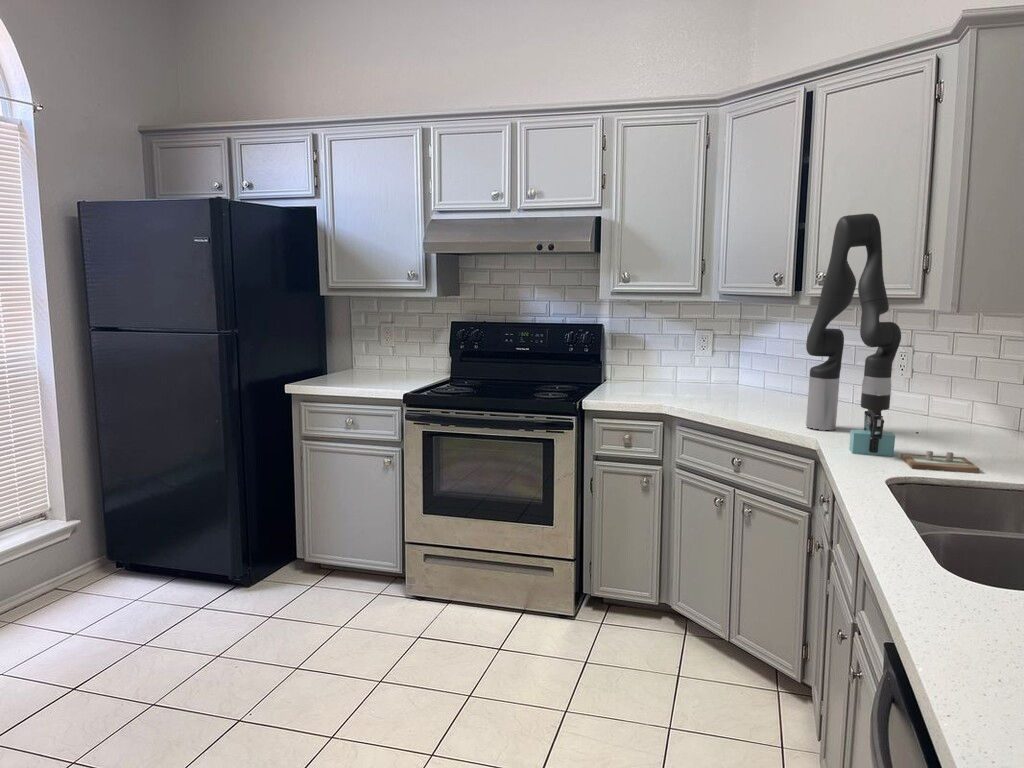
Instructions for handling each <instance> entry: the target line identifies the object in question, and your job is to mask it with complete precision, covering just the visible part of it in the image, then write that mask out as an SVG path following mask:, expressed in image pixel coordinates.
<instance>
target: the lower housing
mask: <svg viewBox="0 0 1024 768" xmlns="http://www.w3.org/2000/svg"><path fill="white" fill-rule="evenodd" d="M849 435H850V438H849V447H848V448H849V449H848V450H849V451H850V452H851V454H853V455H854V454H855V455H867V456H868V455H872V456H884V457H885V456H886V457H888V456H889V457H894V455H895V454H894V453H895V442H896V434H894V433H893V432H892V431H884V430H883V432H882V438H881V439H880V440H879V444H878V452H877V453H872V452H870V451H869V445H870V432H869V431H866V430H864V429H863V430H862V429H850V434H849ZM875 435H877V432H875Z"/></svg>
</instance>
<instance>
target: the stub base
mask: <svg viewBox="0 0 1024 768" xmlns="http://www.w3.org/2000/svg"><path fill="white" fill-rule="evenodd" d="M900 459H902V461H904V463H906V464H907V465H908V466H909V467H910V468H911V469H912V470H913V469H914V470H926V469H929V470H928V471H940V470H944V471H943V472H955V471H959V472H958V473H970V472H974V473H976V474H980V467H978V466H977V465H975V464H974V463H972V462H971V460H969V459H968V458H966V457H964V456H963V457H962V456H961V457H959V456H954V452H951V451H947V452H946V456H945V455H944V456H943V455H934V451H932V450H926V452H925V454H913V453H901V454H900Z"/></svg>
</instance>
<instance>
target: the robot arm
mask: <svg viewBox="0 0 1024 768" xmlns="http://www.w3.org/2000/svg"><path fill="white" fill-rule="evenodd" d="M881 229H882V228H881V225H880V221H879V219H878V216H877V215H875V214H874V213H860V214H859V213H858V214H848V215H844V216H842V217H840V218H839V219H838V221H837V222H836V226H835V230H834V234H833V240H832V246H831V252H830V253H831V254H830V258H829V263H828V267H827V270H826V274H825V277H824V281H823V284H822V288H821V291H820V295H819V300H818V304H817V309H816V312H815V315H814V317H813V321H812V323H811V326H810V329H809V332H808V334H807V339H806V343H805V345H806V346H805V347H806V352H807V354H809V356H813V357H828V359H827V360H826V361H824V362H822V363H820V364H818V365H815V366H812V367H810V369H809V378H808V379H809V380H808V393H807V406H806V407H807V409H806V421H805V427H806V426H807V427H809V428H808V429H810V428H813V429H812V430H814V429H819V430H818V431H825V430H829V431H835V430H836V428H837V419H838V418H837V417H838V403H839V394H840V393H839V392H840V388H839V387H840V376H841V371H842V370H841V369H842V360H843V352H844V348H845V347H844V346H845V345H844V344H845V334H844V331H842V329H841V328H827V327H828V325H829V324H830V323H831V322H832V321H833V320H835V318H837V316H839V315H840V314H842V312H844V311H845V310H846V309H847V308H848V307H849V305H851V303H852V300H853V298H854V293H855V291H856V287H857V290H858V291H857V292H858V297H859V303H860V307H861V317H860V318H861V319H860V329H859V335H860V339H861V341H862V342H863V343H864V345H865V346H867V347H869V348H877V350H876V352H875V353H873V354H870V355H868V356H867V357H865V361H864V371H863V378H862V383H861V396H860V407H861V408H862V409H866V410H864V412H863V413H864V422H863V424H864V426H863V430H866V431H869V432H870V445H869V451H870V452H872V453H877V452H878V444H879V440H880V439H881V438H882V432H883V431H884V424H885V419H884V416H883V415H882V411H888V410H890V408H891V407H890V405H891V394H892V370H893V362H894V360H895V358H896V355H897V353H898V350H899V347H900V344H901V341H902V330H901V328H900V326H899V325H898V324H897V323H895V322H893V321H880V316H881V315H884V314H885V313H887V312H888V311H889V307H890V305H889V300H888V295H887V291H886V290H887V289H886V287H885V280H884V269H883V249H882V248H883V247H882V244H883V243H882V232H881ZM857 247H865V249H866V263H865V265H864V268H863V271H862V273H861V275H860V277H859V281H858V286H857V280H856V276H855V274H854V272H853V270H852V268H851V266H850V264H849V262H848V255H849V251H850V249H851V248H857ZM807 427H806V428H807ZM834 429H835V430H834ZM875 432H877V435H875Z"/></svg>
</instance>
